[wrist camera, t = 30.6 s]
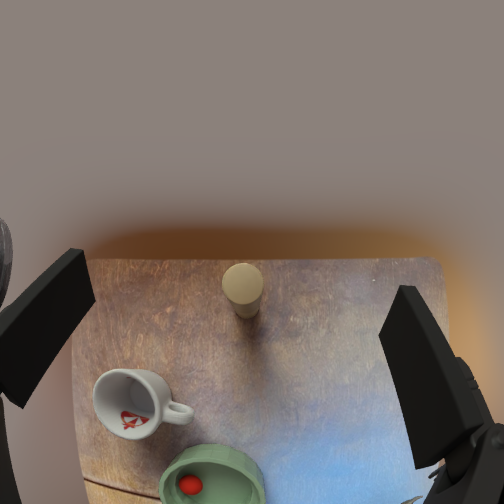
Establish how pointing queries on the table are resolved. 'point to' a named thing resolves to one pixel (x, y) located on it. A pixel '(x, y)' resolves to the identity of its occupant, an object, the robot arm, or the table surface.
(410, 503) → the grey animal figure
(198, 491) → the cherry tomato
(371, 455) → the table surface
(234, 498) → the bowl
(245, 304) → the tan wooden cylinder
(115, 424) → the cup
